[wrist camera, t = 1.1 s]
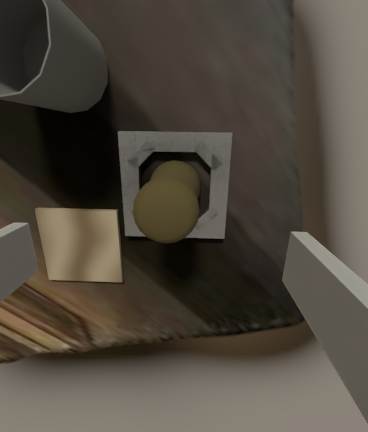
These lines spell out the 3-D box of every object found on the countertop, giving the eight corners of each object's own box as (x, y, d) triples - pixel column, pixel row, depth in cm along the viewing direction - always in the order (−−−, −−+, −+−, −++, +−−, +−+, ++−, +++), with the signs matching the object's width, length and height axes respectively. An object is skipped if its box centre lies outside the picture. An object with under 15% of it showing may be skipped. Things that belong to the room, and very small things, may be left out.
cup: (121, 94, 24) (74, 67, 15) (54, 125, 25) (-29, 117, 16) (82, 1, 22) (-4, -106, 12) (10, 39, 23) (-119, -30, 13)
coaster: (51, 277, 32) (49, 279, 31) (37, 207, 28) (34, 209, 28) (123, 279, 31) (122, 282, 31) (118, 209, 28) (116, 211, 28)
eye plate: (127, 232, 29) (125, 235, 28) (120, 131, 25) (117, 131, 24) (223, 235, 29) (224, 238, 28) (230, 132, 25) (232, 132, 24)
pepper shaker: (200, 211, 28) (204, 255, 17) (150, 211, 28) (125, 254, 18) (201, 160, 26) (207, 175, 15) (148, 160, 26) (118, 175, 16)
